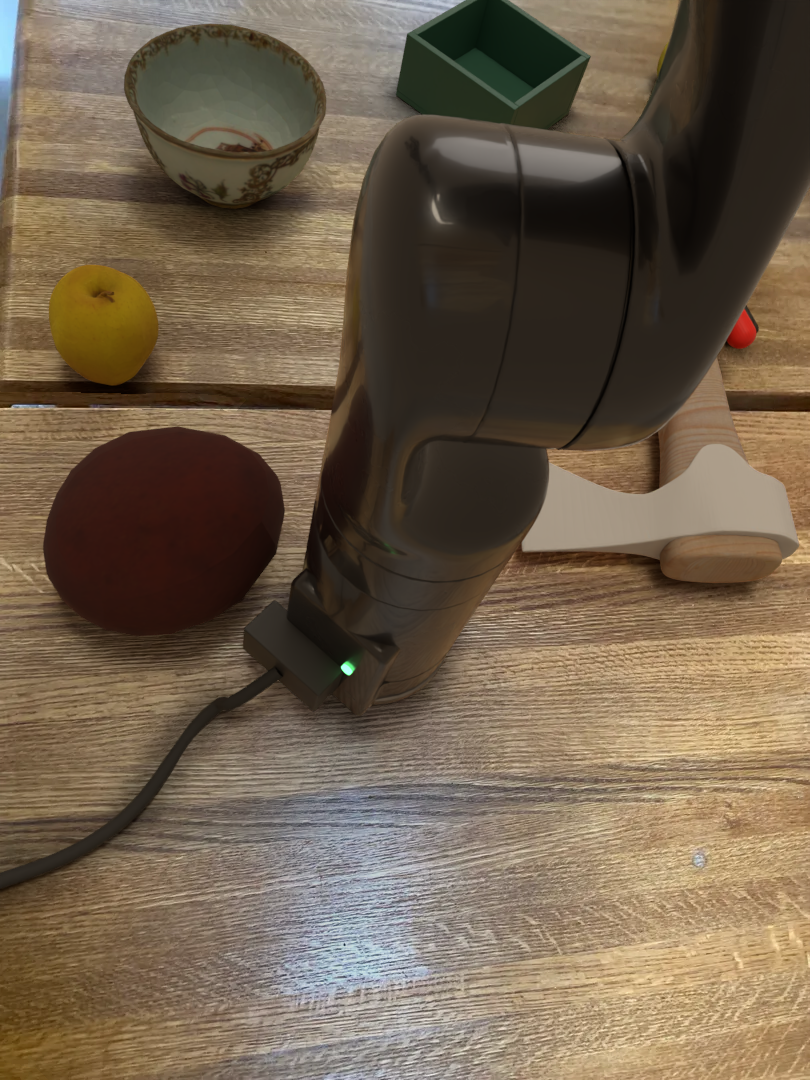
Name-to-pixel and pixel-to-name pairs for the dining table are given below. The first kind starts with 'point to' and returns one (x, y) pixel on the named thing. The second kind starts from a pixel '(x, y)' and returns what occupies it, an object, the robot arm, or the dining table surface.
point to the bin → (490, 66)
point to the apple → (102, 323)
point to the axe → (680, 504)
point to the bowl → (225, 110)
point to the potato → (162, 530)
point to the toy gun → (743, 330)
